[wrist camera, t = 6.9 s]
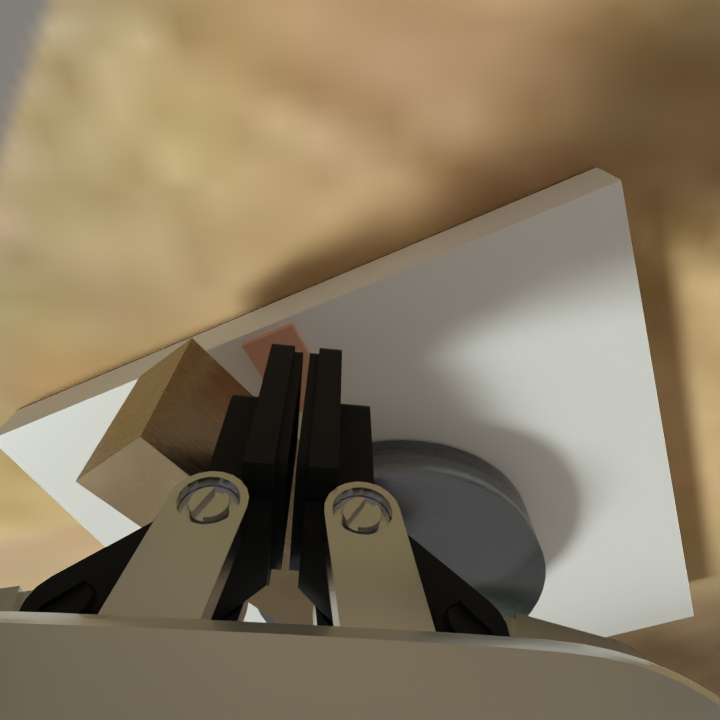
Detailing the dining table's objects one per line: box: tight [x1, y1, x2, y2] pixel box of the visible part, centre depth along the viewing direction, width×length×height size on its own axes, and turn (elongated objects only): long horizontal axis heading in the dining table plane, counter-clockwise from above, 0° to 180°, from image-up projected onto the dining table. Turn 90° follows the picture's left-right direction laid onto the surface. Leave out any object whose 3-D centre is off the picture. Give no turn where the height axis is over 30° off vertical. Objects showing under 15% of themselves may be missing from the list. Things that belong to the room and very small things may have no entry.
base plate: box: [0, 167, 694, 637], centre depth 20 cm, size 20×20×2 cm
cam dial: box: [76, 338, 546, 625], centre depth 16 cm, size 16×10×5 cm, turn 36°
